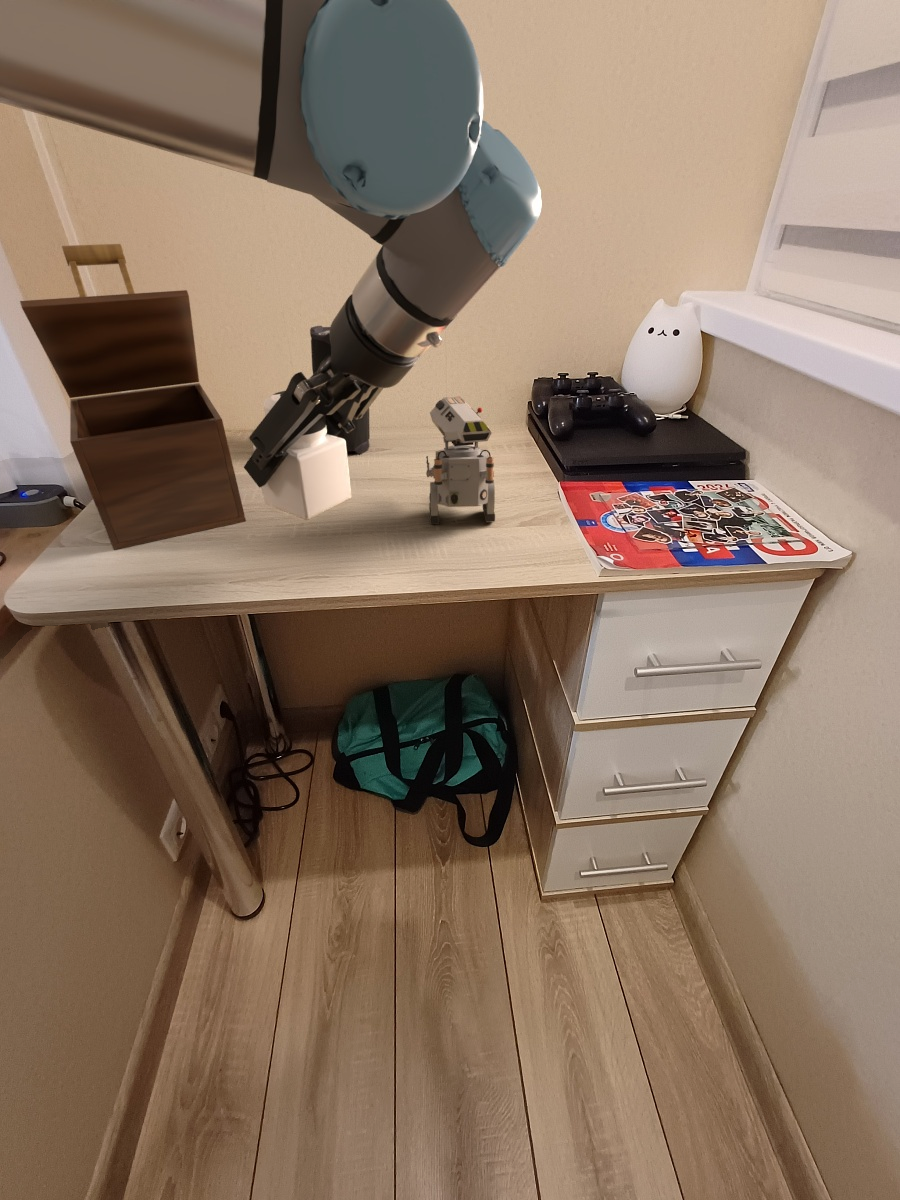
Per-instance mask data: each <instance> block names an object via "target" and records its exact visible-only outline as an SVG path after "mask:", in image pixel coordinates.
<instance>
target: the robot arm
mask: <svg viewBox="0 0 900 1200" xmlns="http://www.w3.org/2000/svg"><path fill="white" fill-rule="evenodd" d="M479 62H480V61H479V58H478V55H477V52H476V49H475V46H474V43H473V41H472V38H471V36H470V34H469V31H468V30H467V27H466V26H465V24H464V22H463V21H462V19H461V17H460V16H459V14H458V13H457V11H456V10H455V9H454V7H453V6H452V5H451V4H450V2H449V1H448V0H0V104H4V105H8V106H10V107H14V108H18V109H21V110H25V111H28V112H32V113H35V114H38V115H41V116H44V117H48V118H52V119H55V120H58V121H62V122H64V123H65V122H66V123H69V124H72V125H76V126H79V127H83V128H86V129H90V130H92V131H96V132H99V133H103V134H107V135H110V136H113V137H117V138H121V139H123V140H126V141H130V142H133V143H137V144H141V145H145V146H147V147H151V148H154V149H157V150H162V151H164V152H168V153H171V154H175V155H179V156H182V157H185V158H189V159H192V160H195V161H199V162H203V163H206V164H209V165H213V166H216V167H220V168H223V169H226V170H230V171H233V172H236V173H240V174H244V175H247V176H251V177H254V178H257V179H260V180H263V181H266V182H267V183H269V184H273V185H276V186H280V187H283V188H286V189H291V190H293V191H297V192H299V193H302V194H307V195H310V196H312V197H313V198H315V199H317V201H319V202H320V203H322V204H323V205H325V206H326V207H327V208H329V209H330V210H332V211H334V212H335V213H336V214H338V215H339V216H340V217H342V218H343V219H345V220H346V221H348V222H349V223H351V224H352V225H353V226H355V227H357V228H358V229H359V230H361V231H362V232H364V233H365V234H367V235H368V236H369V238H370V239H372V240H373V241H375V242H376V243H378V244H379V245H381V247H380V249H379V250H378V252H377V253H376V254H375V256H374V258H373V259H372V260H371V262H370V263H369V265H368V266H367V267H366V270H365V271H364V272H363V274H362V275H361V276H360V278H359V280H358V281H357V283H356V284H355V285H354V288H353V289H352V292H351V294H350V295H349V296H348V297H347V299H346V300H345V302H344V303H343V305H342V306H341V308H340V309H339V311H338V313H337V314H335V315H336V316H335V317H334V318H333V320H332V322H331V324H330V325H329V327H330V342H331V354H330V355H328V356H327V357H326V358H325V359H324V360H323V361H322V362H321V364H320V367H319V369H318V370H317V371H316V372H315V373H314V374H313V373H312V375H311V376H310V377H309V378H307V377H306V376H305V375H304V373H303V372H302V371H299V372H297V373H295V374H294V375H292V377H291V378H290V381H289V382H288V384H287V387H286V389H285V390H284V391H285V392H284V393H283V395H282V396H281V397H280V398H279V400H278V401H277V402H276V403H275V405H274V406H273V407H272V409H271V410H270V411H269V412H268V414H267V415H266V416H265V415H264V417H263V419H262V420H261V421H260V422H259V423H258V425H257V426H256V427H255V428H254V430H253V431H252V433H251V434H250V435H249V437H248V439H249V441H250V442H251V443H252V444H253V445H254V446H255V447H256V450H255V451H254V450H253V452H252V454H251V456H250V457H249V459H248V460H247V462H246V463H245V464H244V466H243V468H244V470H245V471H246V473H247V474H248V475H249V476H250V478H251V479H252V480H253V481H254V483H255V484H256V485H257V487H258V488H259V489H260V488H261V487H262V486H264V485H265V484H266V483H267V481H268V480H269V479H270V478H271V476H272V475H273V474H274V472H275V471H276V470H277V468H278V467H279V466H280V464H281V463H282V462H283V461H284V459H285V458H286V457H287V455H288V452H287V451H286V450H287V449H288V448H290V447H291V446H292V445H293V444H294V443H295V442H296V441H297V440H298V439H299V438H300V437H301V436H302V435H303V434H304V433H305V432H306V431H307V430H308V429H309V428H310V427H312V426H313V425H314V424H315V423H316V422H317V421H318V420H319V419H320V418H321V417H322V416H323V415H325V419H326V427H327V433H326V434H329V435H332V436H337V435H338V434H339V433H340V432H341V431H342V430H341V428H340V427H341V426H342V427H343V428H344V430H345V431H346V432H347V433H349V432H351V431H352V430H353V429H354V428H355V426H354V425H353V423H352V422H351V421H352V419H353V417H355V419H356V420H357V419H360V418H362V417H363V415H364V414H365V412H366V411H367V410H368V408H369V409H370V407H371V406H372V404H374V401H376V399H377V398H378V396H379V395H380V394H381V392H383V390H384V389H388V388H393V387H395V386H397V385H398V384H399V383H400V382H401V381H402V380H403V379H404V378H405V377H406V375H407V374H408V373H409V372H410V371H411V369H412V368H413V367H414V366H415V365H416V364H417V362H418V361H419V359H420V357H421V356H422V355H423V354H425V353H426V352H427V350H428V349H429V348H430V347H433V348H439V346H441V344H442V343H443V339H442V338H441V334H442V332H443V331H444V330H446V329H447V328H448V326H449V325H450V324H451V323H452V322H453V321H454V320H455V319H456V318H457V316H458V315H459V314H460V312H461V311H462V310H463V309H464V308H465V307H466V306H467V304H468V303H469V302H470V301H471V300H472V299H473V298H474V297H475V296H476V295H477V293H478V292H479V291H481V289H482V288H483V287H484V286H485V285H486V284H487V283H488V281H489V280H491V278H492V277H493V276H494V275H495V274H496V273H497V271H498V270H499V269H501V268H502V267H505V266H506V265H507V263H508V262H509V259H510V258H511V257H512V255H513V254H514V253H515V251H516V250H517V249H518V248H519V246H520V245H521V244H522V243H523V241H525V238H527V236H528V234H529V232H530V231H531V230H532V229H533V227H534V226H535V225H536V223H537V221H538V219H539V217H540V215H541V212H542V205H543V204H542V197H541V196H542V192H541V187H540V185H539V182H538V179H537V177H536V175H535V173H534V171H533V169H532V167H531V165H530V164H529V162H528V161H527V158H526V157H524V155H523V153H522V152H521V151H520V150H519V148H518V147H517V146H516V144H514V143H513V141H511V140H510V138H509V137H508V136H507V135H506V134H504V132H502V131H501V130H499V129H495V128H493V126H491V125H490V123H489V122H487V120H486V121H485V120H483V115H484V86H483V77H482V72H481V68H480V63H479ZM320 390H321V392H322V393H323V395H324V396H325V397H326V399H327V400H329V401H331V403H330V404H329V403H328V402H327V400H326V399H325V398H324V396H323V395H322V394H321V392H320ZM359 405H360V406H359Z"/></svg>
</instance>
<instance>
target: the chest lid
mask: <svg viewBox="0 0 900 1200" xmlns="http://www.w3.org/2000/svg"><path fill="white" fill-rule="evenodd" d="M61 248H62V252H63V255H64V258H65V260H66V263H67V266H68V267H69V268H70V269H69V270H70V272H71V276H72V278H73V282H74V284H75V288H76V291H77V295H78V296H76V297H61V298H45V299H44V298H43V299H30V300H29V299H27V300H19V304H20V308H21V310H22V311H23V313H24V315H25V317H26V319H27V321H28V322H29V325H30V326H31V328H32V330H33V332H34V334H35V335H36V338H37V339H38V342H39V344H40V345H41V348H42V349H43V351H44V352H45V354H46V356H47V359H48V360H49V362H50V364H51V366H52V368H53V369H54V371H55V373H56V375H57V377H58V379H59V381H60V383H61V384H62V387H63V388H64V390H65V392H66V394H67V396H68V398H69V399H76V398H84V397H92V396H100V395H108V394H116V393H124V392H132V391H140V390H148V389H156V388H164V387H172V386H180V385H188V384H196V383H200V376H199V369H198V360H197V352H196V343H195V335H194V326H193V319H192V311H191V309H192V308H191V302H190V295H189V292H188V290H187V289H184V290H183V289H181V290H169V291H168V290H167V291H166V290H165V291H154V292H153V291H151V292H138V293H135V290H134V287H133V283H132V280H131V277H130V273H129V270H128V268H127V261H126V258H125V254H124V249H123V246H122V244H121V243H104V244H103V243H101V244H77V245H76V244H75V245H73V244H71V245H62V246H61ZM107 265H118V267H119V271H120V273H121V277H122V279H123V282H124V286H125V289H126V292H127V293H122V294H121V293H120V294H107V295H105V294H104V295H90V296H89V295H88V296H87V293H86V290H85V287H84V284H83V281H82V277H81V275H80V271H79V269H78V267H84V266H87V267H88V266H107Z"/></svg>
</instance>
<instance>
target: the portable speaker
mask: <svg viewBox="0 0 900 1200" xmlns="http://www.w3.org/2000/svg"><path fill="white" fill-rule="evenodd" d="M309 334H310V335H309V336H310V351H311V369H312V375H313V374H314V373H315V372H316V371H317V370H318V369H319V367H320V364H321V362H322V361H323V360H324V359H325V358H326V357H327V356H328V355H330V354H331V342H330V326H322V325H316V326H311V327H310V329H309ZM320 392H321V390H320ZM321 394H322V395H323V393H322V392H321ZM323 396H324V395H323ZM324 398H325V399H326V397H325V396H324ZM326 400H327V399H326ZM327 402H328V403H329V404H330V403H331V401H329V400H327ZM359 406H360V405H359ZM351 422H352V423H353V425H354V426H355V428H354V429H353V430H352V431H351V432H349V433H347V432H346V431H345V430H344V428H343V427H342V426H341V427H340V428H341V430H342V431H341V432H340V433H339V434H338V435H337V436H336V437H339V438H343V439H344V440H345V441H346V449H347V452H354V453H355V454H356V455H362V454H364V453H366V452H368V451H369V449H370V434H371V433H370V407H369V408H368V410H367V411H366V412H365V414H364V415H363V417H362V418H360V419H357V420H356V419H355V417H353V419H352V421H351Z"/></svg>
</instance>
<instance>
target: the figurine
mask: <svg viewBox="0 0 900 1200" xmlns="http://www.w3.org/2000/svg"><path fill="white" fill-rule="evenodd" d="M476 411H477V412H476ZM476 411H475V409H473V408H472V407H471V406H470V405H469V404H468V403H467V402H466V401H465V400H464V399H463V398H462V397H461V396H446V397H443V398H442V399H440V400H438V401H437V402H436V403H435V406H434V408H432V409H431V410H430V412H429V415H430V419H431V421H432V423H433V424H434V426H435V427H436V428H437V430H438V431H439V432H440V433H441V435H442V436H443V437H442V439H443V444H444V448H443V449H440V450H435V458H434V459H433V460H434V461H433V465H432V467H431V464H430V462H429V456H428V455H426V457H425V459H426V469H427V470H426V472H425V473H426V474H425V475H426V477H427V478H432V479H434V480H433V481H431V482H429V503H428V507H429V508H428V509H429V522H430V524H431V525H438V524H440V512H439V505H441V506H444V507H448V508H453V507H454V508H462V507H481V506H482V510H483V515H484V518H485V522H486V523H494V522H496V513H495V503H496V501H495V500H496V490H495V487H496V486H495V480H494V477H495V470H494V467H495V463H494V462H495V461H494V457H492V456H491V452H490V450H488V449H480V447H479V443H482V442H488V441H489V439H490V437H491V436H492V431H491V430H490V427H489V426H488V425H487V424H486V423H485V421H484V420H483V419H482V418H481V416H479V414H480V413H482V412H483V408H482V407H478V408H477V410H476ZM449 443H451V444H452V445H449Z"/></svg>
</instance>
